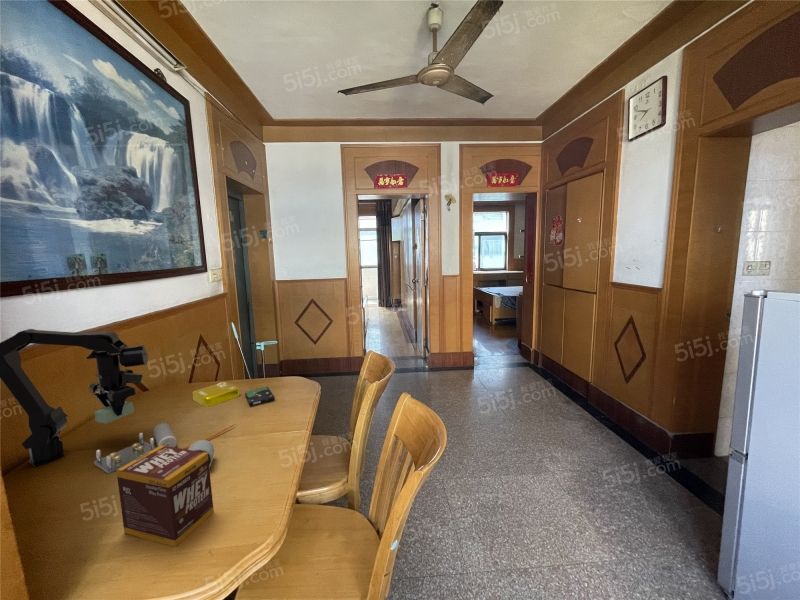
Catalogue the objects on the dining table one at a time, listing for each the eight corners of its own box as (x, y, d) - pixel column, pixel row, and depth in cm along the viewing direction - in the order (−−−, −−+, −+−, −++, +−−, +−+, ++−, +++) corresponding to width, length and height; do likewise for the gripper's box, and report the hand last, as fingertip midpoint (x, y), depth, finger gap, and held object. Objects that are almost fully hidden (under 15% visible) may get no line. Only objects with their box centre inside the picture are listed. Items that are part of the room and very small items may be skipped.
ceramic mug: (216, 456, 103) (213, 434, 102) (213, 471, 95) (210, 447, 94) (176, 467, 98) (172, 443, 97) (170, 483, 91) (166, 457, 90)
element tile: (191, 400, 148) (190, 390, 147) (225, 389, 160) (224, 380, 159) (206, 408, 139) (205, 397, 139) (241, 396, 151) (240, 386, 150)
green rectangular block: (106, 423, 106) (104, 411, 105) (95, 421, 107) (94, 409, 107) (134, 411, 114) (132, 400, 113) (124, 410, 115) (122, 399, 115)
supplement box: (176, 548, 70) (167, 480, 68) (123, 533, 74) (114, 469, 72) (215, 512, 80) (209, 452, 78) (167, 501, 84) (160, 444, 82)
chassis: (108, 473, 96) (106, 459, 95) (94, 464, 100) (92, 450, 100) (158, 451, 107) (156, 438, 106) (143, 443, 112) (142, 431, 111)
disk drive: (275, 402, 144) (268, 391, 156) (275, 396, 143) (267, 385, 156) (250, 408, 138) (244, 396, 150) (249, 402, 138) (244, 391, 150)
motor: (159, 459, 102) (160, 443, 102) (150, 433, 118) (151, 419, 118) (238, 441, 118) (239, 428, 118) (221, 421, 134) (222, 409, 134)
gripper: (150, 365, 111) (156, 409, 113) (125, 359, 120) (130, 399, 122) (109, 376, 101) (116, 423, 103) (85, 368, 110) (91, 412, 112)
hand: (115, 413), depth 110 cm, fingers closed on green rectangular block, 5 cm apart
